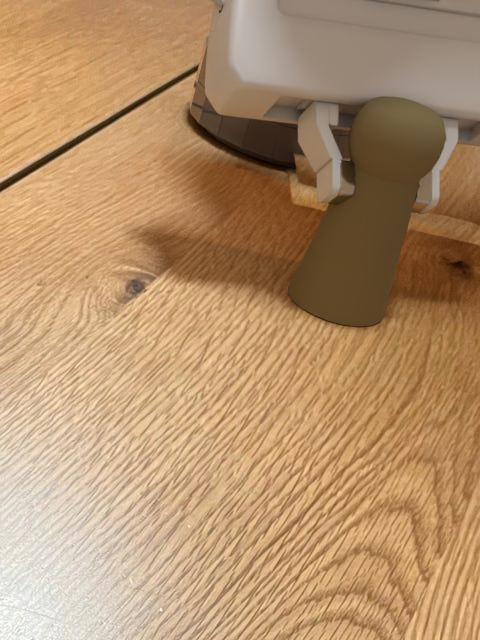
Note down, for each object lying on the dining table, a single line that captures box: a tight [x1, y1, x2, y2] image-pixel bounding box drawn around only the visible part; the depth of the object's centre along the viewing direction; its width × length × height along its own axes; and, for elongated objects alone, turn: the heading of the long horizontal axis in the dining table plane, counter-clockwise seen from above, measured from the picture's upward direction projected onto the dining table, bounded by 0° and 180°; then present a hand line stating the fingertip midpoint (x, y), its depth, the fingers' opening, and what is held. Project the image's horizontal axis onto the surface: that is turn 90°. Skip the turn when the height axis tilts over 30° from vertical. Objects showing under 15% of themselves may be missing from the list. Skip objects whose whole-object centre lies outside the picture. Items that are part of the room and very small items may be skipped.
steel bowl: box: [189, 35, 350, 169], centre depth 94 cm, size 14×14×5 cm
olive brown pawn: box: [287, 96, 446, 327], centre depth 73 cm, size 6×6×11 cm
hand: (378, 204), depth 72 cm, fingers closed on olive brown pawn, 4 cm apart
